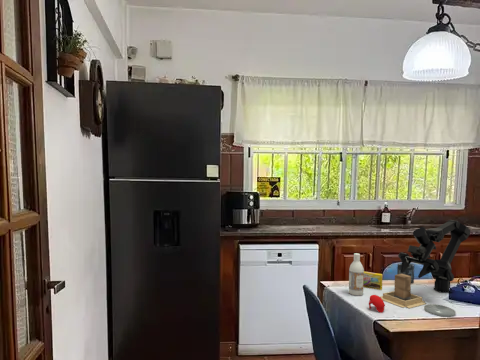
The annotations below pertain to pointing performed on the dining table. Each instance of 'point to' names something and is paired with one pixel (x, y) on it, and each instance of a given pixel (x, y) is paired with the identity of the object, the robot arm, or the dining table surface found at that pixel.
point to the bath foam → (356, 276)
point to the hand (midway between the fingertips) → (409, 274)
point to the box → (407, 271)
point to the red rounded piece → (376, 303)
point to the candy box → (373, 280)
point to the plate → (439, 310)
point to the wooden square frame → (409, 304)
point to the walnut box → (402, 287)
